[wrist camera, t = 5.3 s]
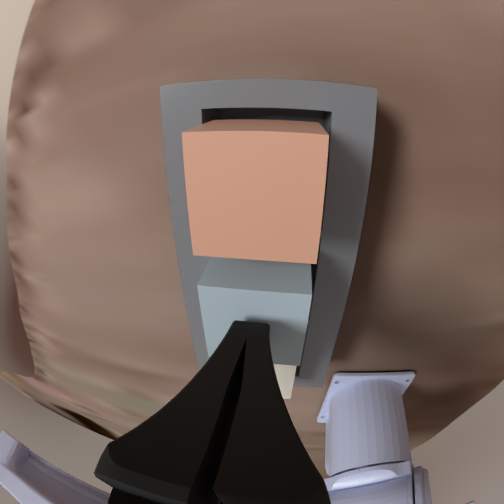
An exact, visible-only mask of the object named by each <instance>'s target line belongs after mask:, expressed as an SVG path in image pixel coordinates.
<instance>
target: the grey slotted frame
mask: <svg viewBox="0 0 504 504" xmlns="http://www.w3.org/2000/svg"><path fill="white" fill-rule="evenodd" d="M160 97H161V115H162V130H163V143H164V155H165V165H166V175H167V185H168V194H169V202H170V210H171V218H172V225H173V232H174V239H175V246H176V253H177V259H178V265H179V271H180V277H181V283H182V289H183V294H184V300H185V305H186V310H187V315H188V320H189V325H190V330H191V335H192V340H193V344H194V349H195V354H196V358H197V362H198V367H199V371H200V369H201V368H202V367H203V366H204V365H205V363H206V362H207V361H208V359H209V358H210V357H208V351H207V346H206V340H205V334H204V328H203V321H202V315H201V309H200V302H199V295H198V288H197V284H198V282H199V280H200V278H201V276H202V274H203V272H204V270H205V267H206V265H207V263H208V261H209V259H210V257H209V256H196V255H193V250H192V242H191V233H190V224H189V215H188V205H187V195H186V184H185V172H184V159H183V145H182V132H184V131H187V130H189V129H192V128H194V127H197V126H199V125H202V124H204V123H207V122H210V121H212V120H226V119H263V120H291V121H308V122H319V123H320V125H321V126H322V127H323V128H324V129H325V131H326V132H327V133H328V134H329V144H328V158H327V171H326V183H325V194H324V204H323V214H322V223H321V232H320V241H319V249H318V257H317V264H311V279H312V299H311V305H310V312H309V318H308V324H307V330H306V335H305V341H304V347H303V352H302V357H301V363H300V366H297V367H296V372H295V377H294V383H293V386H306V387H322V385H323V382H324V379H325V376H326V373H327V369H328V366H329V363H330V360H331V356H332V353H333V350H334V346H335V343H336V339H337V336H338V332H339V328H340V325H341V321H342V317H343V313H344V309H345V305H346V301H347V297H348V293H349V289H350V284H351V280H352V275H353V271H354V266H355V261H356V257H357V252H358V247H359V241H360V236H361V231H362V225H363V219H364V213H365V207H366V200H367V194H368V187H369V179H370V172H371V163H372V155H373V145H374V134H375V122H376V108H377V89H376V88H370V87H363V86H356V85H349V84H341V83H332V82H321V81H308V80H290V79H228V80H210V81H198V82H187V83H178V84H170V85H162V86H160Z"/></svg>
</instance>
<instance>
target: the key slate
mask: <svg viewBox="0 0 504 504" xmlns="http://www.w3.org/2000/svg"><path fill="white" fill-rule="evenodd" d="M197 288H198V295H199V302H200V309H201V315H202V321H203V328H204V334H205V340H206V346H207V351H208V357H211V355H212V354H213V353H214V351H215V350H216V348H217V347H218V346H219V344H220V343H221V341H222V340H223V338H224V336H225V335H226V333H227V331H228V330H229V328H230V326H231V324H232V322H233V321H235V320H238V321H248V322H259V323H268V324H269V325H270V347H271V354H272V360H273V364H280V365H294V366H300V363H301V357H302V352H303V347H304V341H305V335H306V330H307V324H308V318H309V312H310V305H311V299H312V279H311V264H308V263H293V262H279V261H265V260H251V259H237V258H223V257H210V259H209V261H208V263H207V265H206V267H205V270H204V272H203V274H202V276H201V278H200V280H199V282H198V284H197Z"/></svg>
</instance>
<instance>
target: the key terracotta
mask: <svg viewBox="0 0 504 504" xmlns="http://www.w3.org/2000/svg"><path fill="white" fill-rule="evenodd" d="M328 144H329V134H328V133H327V132H326V131H325V129H324V128H323V127H322V126H321V125H320V123H319V122H308V121H291V120H263V119H226V120H212V121H210V122H207V123H204V124H202V125H199V126H197V127H194V128H192V129H189V130H187V131H184V132H182V145H183V159H184V172H185V184H186V195H187V205H188V215H189V224H190V233H191V242H192V250H193V255H196V256H209V257H223V258H237V259H251V260H265V261H279V262H293V263H308V264H317V257H318V249H319V241H320V232H321V223H322V214H323V204H324V194H325V183H326V171H327V158H328Z"/></svg>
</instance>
